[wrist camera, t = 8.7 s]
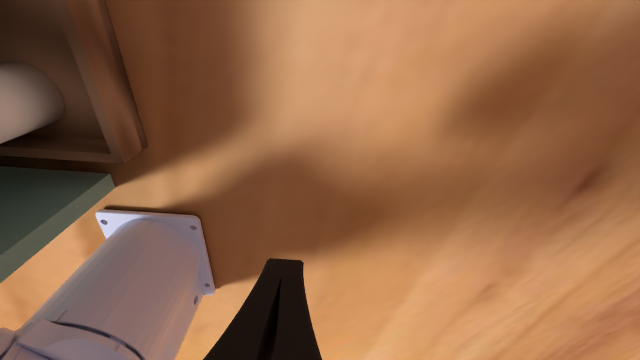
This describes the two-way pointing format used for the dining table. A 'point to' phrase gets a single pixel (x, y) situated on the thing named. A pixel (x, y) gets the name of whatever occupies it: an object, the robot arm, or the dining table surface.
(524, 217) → the dining table surface
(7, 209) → the box
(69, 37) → the tray
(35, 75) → the cup
